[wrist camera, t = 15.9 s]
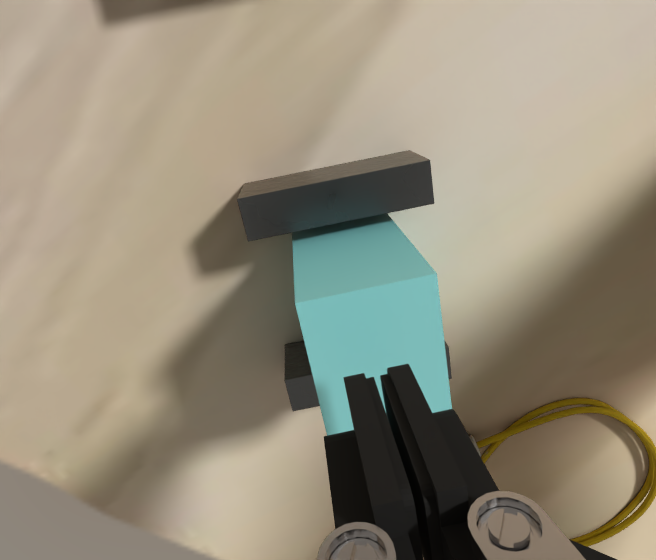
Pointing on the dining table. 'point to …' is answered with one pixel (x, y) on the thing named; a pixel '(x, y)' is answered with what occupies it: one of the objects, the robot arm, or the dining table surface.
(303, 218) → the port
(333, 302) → the turquoise rectangular block
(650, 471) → the extension cord
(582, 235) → the dining table surface
